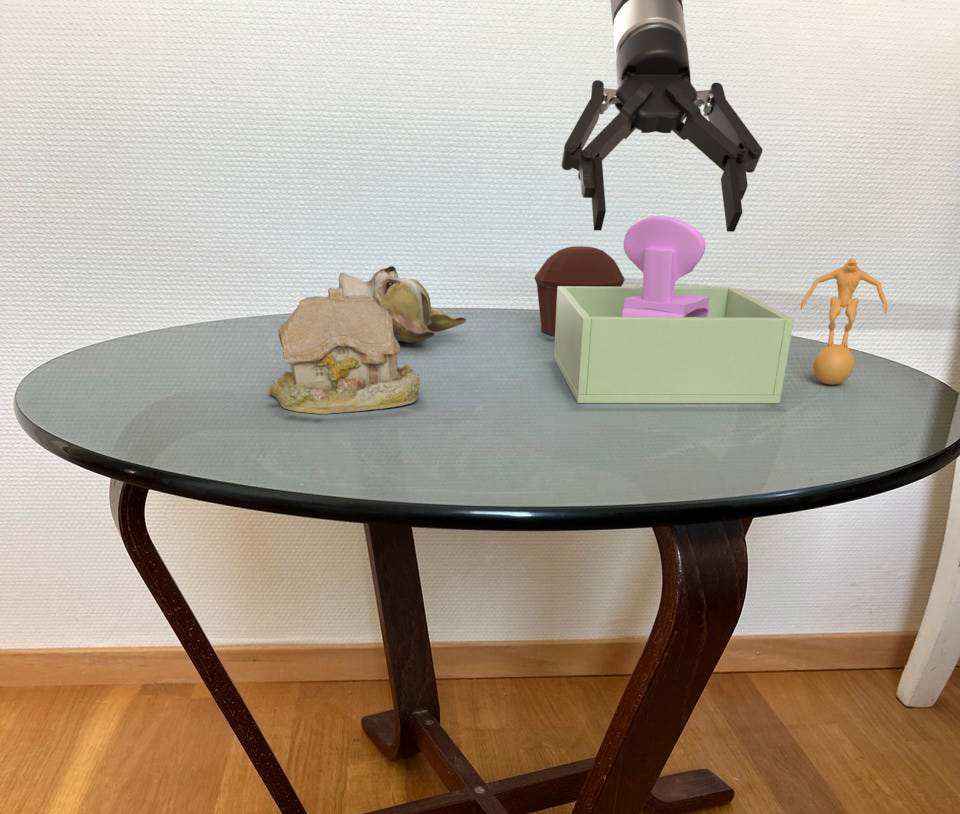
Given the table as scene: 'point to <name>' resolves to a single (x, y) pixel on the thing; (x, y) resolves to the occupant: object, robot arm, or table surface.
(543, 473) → the table surface
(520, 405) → the table surface
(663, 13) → the robot arm
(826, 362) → the figurine
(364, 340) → the ceramic model
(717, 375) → the bin
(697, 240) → the toy chair
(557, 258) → the muffin
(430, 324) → the ceramic sculpture
